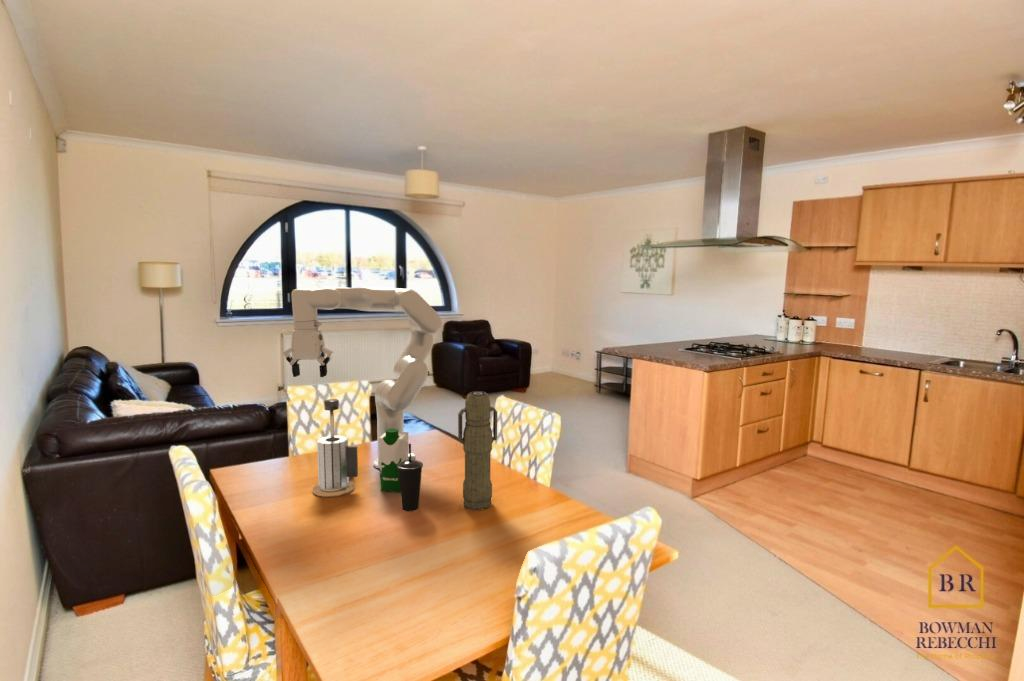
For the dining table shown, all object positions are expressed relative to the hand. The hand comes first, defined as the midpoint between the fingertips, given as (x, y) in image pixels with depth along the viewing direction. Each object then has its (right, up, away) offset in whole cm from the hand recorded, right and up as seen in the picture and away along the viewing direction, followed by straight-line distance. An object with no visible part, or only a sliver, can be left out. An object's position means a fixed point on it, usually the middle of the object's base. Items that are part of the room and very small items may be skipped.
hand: (310, 376), depth 179 cm
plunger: (+10, -26, -6) cm, 28 cm away
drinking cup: (+37, -39, -18) cm, 57 cm away
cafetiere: (+10, -37, -5) cm, 38 cm away
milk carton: (+29, -37, -3) cm, 47 cm away
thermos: (+57, -39, -15) cm, 71 cm away
